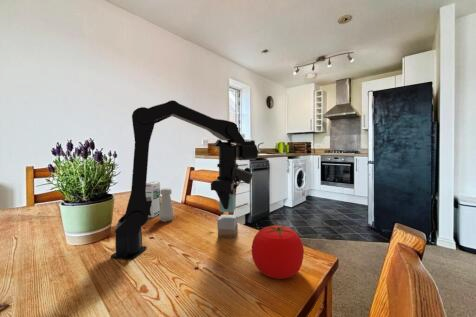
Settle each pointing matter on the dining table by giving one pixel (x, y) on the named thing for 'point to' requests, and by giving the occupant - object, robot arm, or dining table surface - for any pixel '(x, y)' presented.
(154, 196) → the syrup box
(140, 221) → the robot arm
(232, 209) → the teal block
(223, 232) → the tower lower
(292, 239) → the tomato
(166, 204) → the salt shaker
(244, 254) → the dining table surface
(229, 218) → the tower upper
